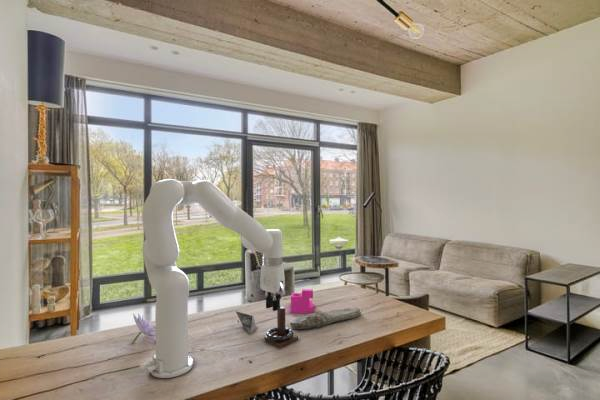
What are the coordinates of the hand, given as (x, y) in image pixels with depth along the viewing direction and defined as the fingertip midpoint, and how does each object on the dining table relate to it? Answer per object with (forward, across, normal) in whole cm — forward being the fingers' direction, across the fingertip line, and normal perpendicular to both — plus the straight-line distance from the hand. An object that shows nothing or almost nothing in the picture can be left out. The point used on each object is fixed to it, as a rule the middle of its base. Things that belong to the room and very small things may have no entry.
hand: (272, 308), depth 124 cm
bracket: (+11, -13, +30) cm, 35 cm away
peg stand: (+11, +5, 0) cm, 12 cm away
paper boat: (+11, -14, -3) cm, 18 cm away
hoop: (+9, +4, 0) cm, 10 cm away
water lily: (+12, -33, -34) cm, 49 cm away
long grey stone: (+11, +6, +26) cm, 29 cm away
